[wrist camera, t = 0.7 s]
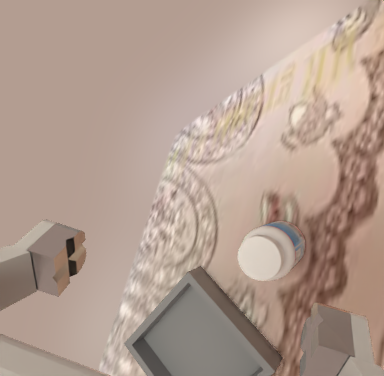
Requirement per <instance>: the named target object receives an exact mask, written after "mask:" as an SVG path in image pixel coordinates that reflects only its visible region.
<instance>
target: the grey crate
mask: <svg viewBox="0 0 384 376" xmlns="http://www.w3.org/2000/svg"><path fill="white" fill-rule="evenodd" d="M124 344H125V346H126V347H127V348H128V350H129V351H130V353H131V354H132V355H133V357H134V358H135V360H136V361H137V362H138V364H139V365H140V366H141V368H142V369H143V371H144V372H145V373H146V375H147V376H271V375H272V374H273V373H274V372H275V371H276V369H277V367H278V365H279V363H280V361H281V359H282V357H281V356H280V355H279V353H278V352H277V351H276V350H275V349H274V348H273V347H272V346H271V344H270V343H269V342H268V341H267V340H266V339H265V338H264V337H263V335H262V334H261V333H260V332H259V331H258V330H257V329H256V328H255V327H254V325H253V324H252V323H251V322H250V321H249V320H248V319H247V318H246V316H245V315H244V314H243V313H242V312H241V311H240V310H239V309H238V308H237V306H236V305H235V304H234V303H233V302H232V301H231V300H230V299H229V297H228V296H227V295H226V294H225V293H224V292H223V291H222V290H221V289H220V287H219V286H218V285H217V284H216V283H215V282H214V281H213V280H212V278H211V277H210V276H209V275H208V274H207V273H206V272H205V271H204V270H203V268H202V267H201V266H200V267H198V268H196V269H193V270H191V271H189V272H187V274H186V275H185V276H184V277H183V278H182V279H181V280H180V281H179V283H178V284H177V285H176V286H175V287H174V288H173V289H172V290H171V292H170V293H169V294H168V295H167V296H166V297H165V298H164V299H163V301H162V302H161V303H160V304H159V305H158V306H157V307H156V308H155V310H154V311H153V312H152V313H151V314H150V315H149V316H148V317H147V318H146V320H145V321H144V322H143V323H142V324H141V325H140V326H139V327H138V329H137V330H136V331H135V332H134V333H133V334H132V335H131V336H130V338H129V339H128V340H127V341H126V342H125V343H124Z"/></svg>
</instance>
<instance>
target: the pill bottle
mask: <svg viewBox="0 0 384 376" xmlns="http://www.w3.org/2000/svg"><path fill="white" fill-rule="evenodd" d="M304 252H305V239H304V236H303V234H302V232H301V231H300V230H299V229H298V228H297V227H296V226H295V225H293V224H292V223H289V222H286V221H276V222H272V223H269V224H266V225H263V226H260V227H257V228H255V229H253V230H252V231H250V232H249V233H248V234H247V235H246V236H245V238H244V239H243V241H242V244H241V246H240V248H239V250H238V263H239V266H240V268H241V269H242V271H243V272H244V273H245V274H246V275H247V276H248V277H250V278H251V279H254V280H257V281H273V280H277V279H280V278H282V277H284V276H285V275H286V274H288V273H289V272H290V270H291V269H292V268H293V267H294V266H295V265H296V264H297V263H298V262H299V261H300V259H301V258H302V257H303V255H304Z"/></svg>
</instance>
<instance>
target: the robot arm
mask: <svg viewBox="0 0 384 376" xmlns="http://www.w3.org/2000/svg"><path fill="white" fill-rule="evenodd" d="M84 241H85V233H84V232H83V231H80V230H77V229H74V228H71V227H68V226H65V225H62V224H59V223H55V222H52V221H49V220H43V221H41V222H40V223H39V224H37V225H36V226H35V227H34V228H33V229H32V230H31V231H30V232H29V233H27V234H26V235H25V236H24V237H23V238H22V239H20V240H19V241H18V242H17V243H16V244H15V245H14V246H10V245H8V246H5V247H2V248H0V311H1V310H3V309H5V308H6V307H8V306H10V305H12V304H14V303H16V302H18V301H20V300H21V299H23V298H25V297H27V296H29V295H31V294H32V293H34V292H36V291H37V290H39V291H42V292H45V293H48V294H51V295H55V296H58V297H59V296H60V295H61V293H62V292H63V291H64V289H65V288H66V287H67V286H68V284H69V283H70V277H71V276H73V275H76V274H77V273H78V272H79V271H80V269H81V268H82V266H83V264H84V262H85V258H86V249H85V247H84V246H83V245H82V243H83V242H84ZM301 349H302V351H303V352H304V354H303V356H302V358H301V360H300V376H384V370H383V369H382V368H381V366H379V365H376V364H375V360H374V355H373V349H372V343H371V337H370V331H369V326H368V320H367V318H366V317H365V316H362V315H359V314H355V313H352V312H348V311H345V310H342V309H338V308H335V307H332V306H328V305H325V304H321V303H318V302H315V303H314V304H313V306H312V309H311V317H309V318H307V319H306V322H305V324H304V327H303V331H302V336H301ZM0 376H110V375H108V374H105V373H102V372H100V371H97V370H94V369H92V368H89V367H87V366H84V365H81V364H79V363H76V362H73V361H70V360H68V359H66V358H63V357H60V356H58V355H55V354H52V353H50V352H47V351H45V350H42V349H39V348H37V347H34V346H31V345H29V344H26V343H24V342H21V341H18V340H15V339H13V338H10V337H8V336H5V335H3V334H0Z"/></svg>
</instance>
